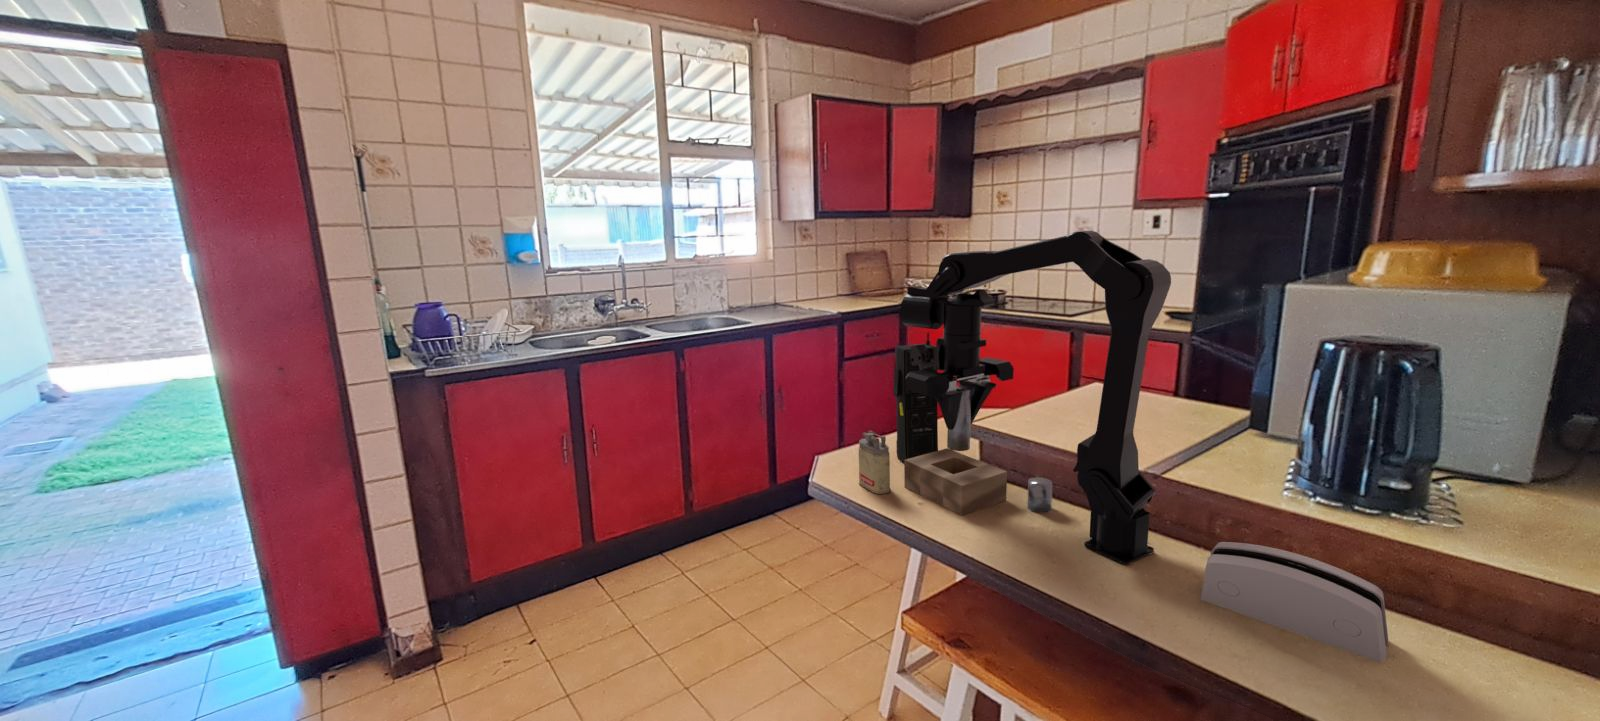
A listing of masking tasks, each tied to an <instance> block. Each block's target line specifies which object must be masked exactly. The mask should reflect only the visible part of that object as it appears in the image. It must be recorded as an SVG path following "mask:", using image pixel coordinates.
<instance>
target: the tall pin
mask: <svg viewBox="0 0 1600 721" xmlns="http://www.w3.org/2000/svg"><path fill="white" fill-rule="evenodd" d="M956 390H957V391H960V392H962V397H961V401H960V406H959V410H958V414H957V419H956V423H955V426H954V429H953V430H950V429H948V428H947V438H946V440H947V442H946V444H947V445H946V446H947V448H948V449H950V450H953V451H956V452H965V451H968V450H970V449H971V425H972V424H971V398H972V388H970V387H968V386H961V385H956Z"/></svg>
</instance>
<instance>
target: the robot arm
mask: <svg viewBox="0 0 1600 721" xmlns="http://www.w3.org/2000/svg"><path fill="white" fill-rule="evenodd" d="M1069 263H1074V264H1075V265H1076V266H1078V267H1079V268H1080V270H1082V271H1083V273H1084V274H1086V275H1087V277H1088V278H1089V279H1090V280H1091V281H1092V282H1094V283H1095V284H1096V285H1098V286H1099V287H1101V288H1102V289H1104V302H1105V304H1104V305H1105V306H1104V307H1105V312H1106V317H1107V321H1108V323H1109V327H1110V336H1109V345H1108V350H1107V357H1106V364H1105V371H1104V376H1103V384H1102V391H1101V396H1100V398H1101V399H1100V405H1099V412H1098V418H1097V425H1096V429H1095V430H1096V431H1095V433H1094V434H1092V435H1090V436H1089V437H1087V438H1086V439H1084V440H1082V441H1081V442H1079V443H1077V447H1076V448H1077V449H1076V457H1077V458H1076V459H1077V461H1076V464H1075V466H1074V468H1073V469H1072V471H1073V472H1074V473H1077V474H1076V476H1077V483H1078V486H1079V488H1081V489H1082V490H1083V492H1084V493H1085V494H1086V497H1087V501H1088V502H1087V503H1088V505H1089V507H1090V519H1089V532H1088V533H1089V534H1088V535H1089V538H1090V539H1088V540H1086V541H1084V542H1083V543H1084V547H1086V548H1087V549H1089V550H1092V551H1094V552H1097V553H1099V554H1101V555H1102V556H1104V557H1107V558H1110V559H1112V560H1113V561H1116V562H1118V563H1120V564H1123V565H1130V564H1132V563H1134V562H1136V561H1138V560H1140V559H1143V558H1144V557H1147V556H1149V555H1151V554H1153V553H1154V552H1155V551H1154V550H1155V548H1154V547H1152V546H1151V545H1148V541H1149V528H1150V518H1151V516H1150V515H1151V513H1150V512H1149V511H1147V510H1145V508H1144V507H1145V506H1146V505H1147V504H1150V503H1151V501H1152V500H1153V498H1154V496H1155V495H1156V492H1157V491H1156V489H1155V488H1154V486H1153V485H1151V483H1150V482H1149V481H1148V480H1147V478H1145V476H1144V475H1143V474H1142V473H1141V472H1140V470H1139V468H1140V467H1139V466H1140V465H1139V449H1138V447H1137V443H1136V440H1135V435H1134V429H1135V423H1136V422H1135V421H1136V418H1137V417H1136V416H1137V411H1138V403H1139V397H1140V391H1141V385H1142V381H1143V380H1142V379H1143V373H1144V368H1145V362H1146V356H1147V350H1148V343H1149V339H1150V338H1149V337H1150V333H1151V330H1152V328H1153V326H1154V324H1155V322H1156V321H1157V319H1158V316H1159V315H1160V313H1161V312H1162V309H1163V307H1164V303H1165V302H1166V299H1167V296H1168V293H1169V291H1170V288H1171V286H1172V285H1171V284H1172V275H1171V274H1170V271H1169V270H1168V269H1167V268H1166V266H1164V264H1162V263H1161V262H1159V261H1158V260H1154V259H1150V258H1149V259H1143V258H1141V257H1139V255H1137V254H1135V253H1133V252H1132V251H1130V250H1128V249H1126V248H1124V247H1121V245H1120V246H1119V245H1118V244H1116V243H1114V242H1112V241H1110V240H1109V239H1107V238H1105V237H1104V236H1103V235H1101V234H1100V233H1098V231H1094V230H1082V231H1081V230H1080V231H1079V230H1078V231H1074V232H1071V233H1069V234H1068V235H1064V236H1060V237H1059V236H1058V237H1055V238H1050V239H1046V240H1045V239H1044V240H1042V241H1037V242H1033V243H1029V244H1022V245H1020V246H1014V247H1011V248H1009V247H1008V248H1006V249H1001V250H976V251H966V252H965V251H963V252H953V253H949V254H946V255H945V256H943V258H942V259H941V261H940V264H939V266H938V271H937V273H936V274H935V276H934V277H933V278H932V280H931V281H930V283H929V284H928V286H927V287H924V286H921V285H912V286H908V287H907V288H906V290H907V293H906V294H905V296H904V297H903V299H902V301H901V303H900V306H899V311H898V312H899V315H898V316H899V320H900V322H901V323H902V324H903V325H904V326H905V327H911V328H912V327H913V328H921V329H929V330H930V329H931V330H939V329H940V328H941V327H943V330H942V332H943V334H942V335H943V336H942V337H937V340H936V343H935V346H936V347H934V348H930V349H927V348H926V347H925V345H917V346H913V347H911V352H910V359H911V363H912V365H913V366H916V365H919V367H920V370H918V371H913V372H909V373H908V375H907V376H906V378H905V389H907V390H910V391H913V392H916V393H919V394H922V395H925V396H935V398H936V400H937V405H939V409H940V411H941V412H940V413H941V415H942V418H943V420H944V423H945V426H946V428H947V430H948V429H950V430H953V429H954V426H955V423H956V419H957V414H958V410H959V406H960V401H961V397H962V392H960V391H957V390H956V386H957V383H959V386H968V387H970V388H972V398H971V425H972V424H973V422H974V420H975V419H976V416H977V415H978V413H979V411H980V410H981V408H982V407H983V404H984V403H985V401H986V399H987V398H988V397H989V395H990V393H991V392H992V390H993V389H995V388H997V383H995V382H991V378H990V376H993V375H994V376H996V378H997V379H998V381H1000V382H1005V381H1010V380H1014V366H1013V365H1012V363H1011V361H1008V360H1005V359H998V358H994V357H990V356H988V357H983V358H980V356H981V348H982V347H986V346H987V339H984V338H981V336H982V335H981V331H982V330H981V328H982V327H981V326H982V308H983V307H987V306H994V305H995V304H996V300H995V299H994V298H993V297H992V296H990V295H989V294H988V292H987V291H986V289H980V290H975V292H974V293H967V292H966V293H965V292H964V291H966V290H971V289H976V288H979V287H982V286H984V285H987V284H988V285H989V284H990V283H993V282H995V281H997V280H999V279H1001V278H1003V277H1005V276H1008V275H1011V274H1017V273H1021V272H1028V271H1033V270H1037V269H1043V268H1049V267H1054V266H1059V265H1063V264H1069ZM963 292H964V293H963ZM953 294H956V295H955V296H953V298H952V297H949V295H953ZM931 367H932V368H934V369H935V370H937V372H935V371H931V370H928V369H926V368H931ZM938 371H942V372H938Z"/></svg>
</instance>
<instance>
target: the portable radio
mask: <svg viewBox="0 0 1600 721" xmlns="http://www.w3.org/2000/svg"><path fill="white" fill-rule="evenodd" d="M917 345H925V347H926V348H927V349H930V348H934V347H936V345H934V344H931V340H930V331H926V341H925V343H916V344H906V345H896V346H895V348H894V352H895V353H894V355H895V356H894V358H895V363H896V364H895V365H896V366H895V367H894V374H893V375H894V376H893V378H894V379H893V396H894V397H896V457H897V459H899V461H901V462H902V463H904V460H906V459H909V458H913V457H917V456H920V455H924V454H928V453H932V452H935V451H939V437H938V430H939V429H938V426H939V425H938V402H937V400H936V398H935V396H925V395H922V394H919V393H916V392H913V391H910V390H907V389H905V378H906V376H907V375H908V373H909V372H913V371H918V370H920V367H919V365H916V366H913V365H912V363H911V359H910V352H911V347H913V346H917ZM926 369H928V370H931V371H935V372H938V370H935V369H934V368H932V367H931V368H926Z"/></svg>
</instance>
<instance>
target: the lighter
mask: <svg viewBox="0 0 1600 721" xmlns="http://www.w3.org/2000/svg"><path fill="white" fill-rule="evenodd" d="M861 436H862V437H863V438H861V439H860V440H859V441H858V445H859V446H858V479H859V480H858V484H859V485H860V486H861V487H863V488H864V489H867V490H868V491H870V492H872V493H874V494H877V495H879V494H881V495H883V494H887V493H889V492H890V491H891V478H890V477H891V474H890V473H891V472H890V470H891V469H890V468H891V467H890V463H891V462H890V458H891V457H890V455H891V454H890V451H889V450H890V449H889V448H890V447H889V446H888V444H886V439H887V438H886V435H879V434H877V433H875V432H874V431H872V430H868V431H867V432H862V435H861Z"/></svg>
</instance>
